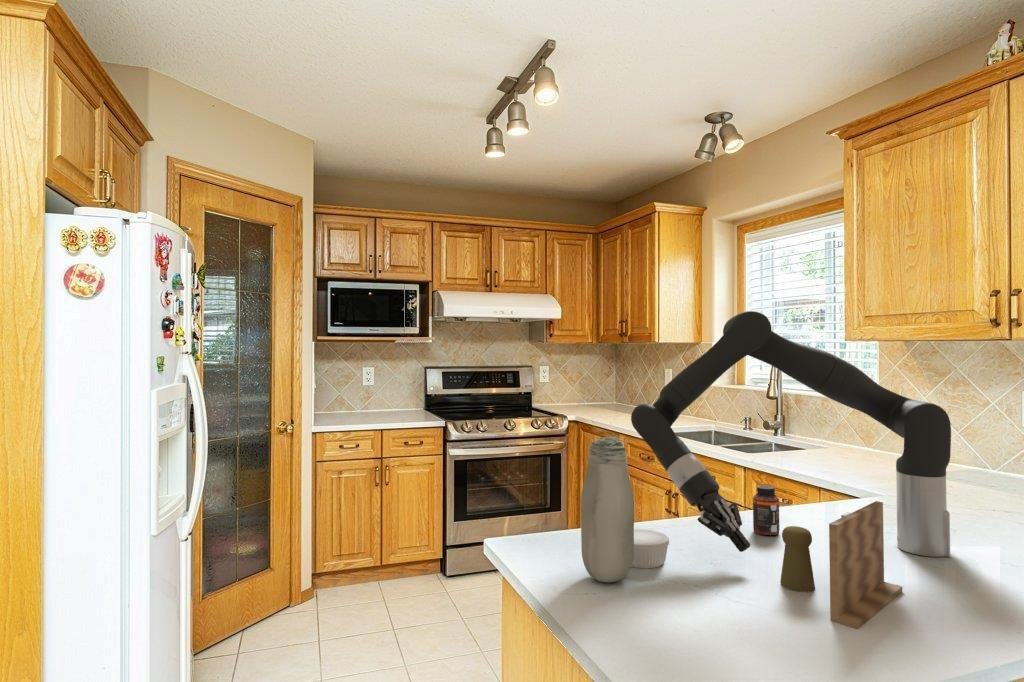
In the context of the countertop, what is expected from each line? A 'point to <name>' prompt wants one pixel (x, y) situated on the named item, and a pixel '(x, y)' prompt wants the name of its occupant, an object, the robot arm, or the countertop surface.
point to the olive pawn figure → (797, 560)
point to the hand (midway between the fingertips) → (746, 549)
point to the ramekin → (649, 548)
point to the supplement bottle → (766, 511)
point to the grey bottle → (607, 512)
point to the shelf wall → (858, 567)
